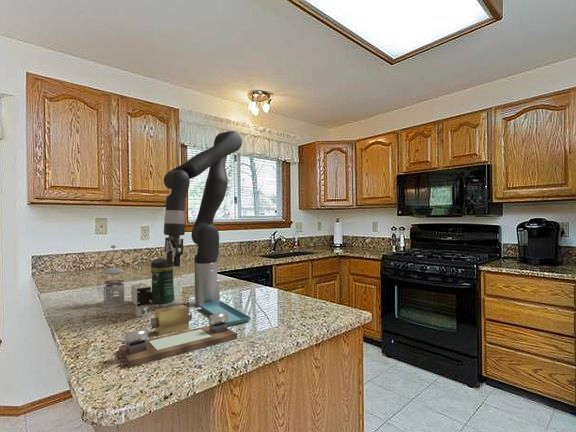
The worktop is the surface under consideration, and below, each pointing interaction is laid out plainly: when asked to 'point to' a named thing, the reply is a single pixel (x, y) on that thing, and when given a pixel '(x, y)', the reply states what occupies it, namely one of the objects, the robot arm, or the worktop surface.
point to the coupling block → (171, 319)
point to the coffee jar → (162, 281)
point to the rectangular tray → (221, 307)
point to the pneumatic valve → (141, 298)
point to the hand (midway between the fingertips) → (172, 265)
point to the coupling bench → (174, 341)
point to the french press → (113, 288)
